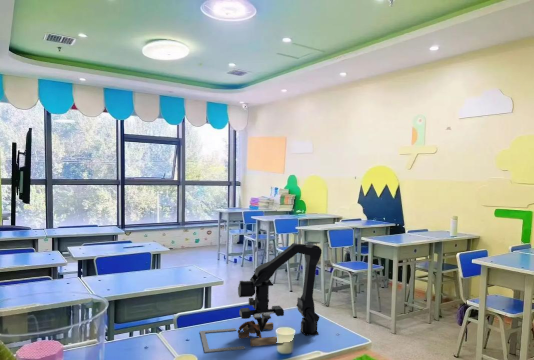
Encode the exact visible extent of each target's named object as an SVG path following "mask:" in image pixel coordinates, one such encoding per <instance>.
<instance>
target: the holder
mask: <svg viewBox="0 0 534 360" xmlns="http://www.w3.org/2000/svg"><path fill="white" fill-rule="evenodd" d="M255 324H256V325H257V326H258V328H259V325H258V323H255ZM248 329H249V328H248V327H247V326H245V327H244V328H243V329H242V332H243V331H246V330H248ZM264 329H268V330H274V323H273V322H267V323H266V325H265V327H264ZM259 330H260V329H259ZM276 336H277V335H275V336H267V337H266V336H265V337H262V338H259V337H254V338H253V337H252V338H249V339H250V340H249V342H250V347H257V346H268V345H277V344H276V342H277V337H276Z"/></svg>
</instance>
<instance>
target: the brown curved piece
mask: <svg viewBox="0 0 534 360" xmlns="http://www.w3.org/2000/svg"><path fill="white" fill-rule="evenodd" d="M256 324H257V323H256V322H255V321H254V320H253V319H252V320H250V321H245V322H243V323H242V324H241V325H239V327H238V330H237V337H238V339H239V340H240V339H246V338H248V339H251V337H250V334H251V335H253V334H256V337H258V338H263V337H262V332H260V330H259V328H258V326H257V325H256ZM245 326H247V327H248V328H249V329H248V330H246V331H244V332H243V328H244V327H245Z"/></svg>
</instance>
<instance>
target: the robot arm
mask: <svg viewBox="0 0 534 360" xmlns="http://www.w3.org/2000/svg"><path fill="white" fill-rule="evenodd" d="M297 254H301V255H304V259H305V271H304V279H303V280H304V281H303V288H302V295H301V297H297V300H296V301H297V302H296V306H295V307H296V308H297V311H298V312H299V313H300V314H301V316H302V317H301V321H300V332H301V333H302V334H304V335H305V336H315V335H316V336H317V335H319V334H320V333H319V332H318V322H319V320H320V316H319V315H318V313H316V311H315V302H314V288H315V281H316V280H315V279H316V272H317V265H318V263H319V261H320V260H321V256H322V254H323V253H322V249H321V247H320V246H319V245H317V244H314V243H312V242H311V243H308V244H303V243H295V242H293V243H291V244H290V245H289V246H288V247H287V248H286V249H284V250H283V251H281V252H280V253H279V254H277V255H276V256H275V257H274V258H272V259H271V260H269V261H267V262H264V263H262V264H260V265H259V266H257V267H256V268H255V269H254V273H253V275H252V276H251V277H250V279H249V280H239V282H238V283H239V284H238V287H237V293H238V295H237V296H238V298H248V305H249V306H252V308H253V309H250V308H249V307H241V308H240V309H239V317H240V318H241V319H243V320H244V319H245V320H246V319H247V320H249V319H251V317H253V319H254V320H255V321H256V322H257V324H258V325H259V329H260V332H261V333H263V331H264V330H263V329H264V327H265V325H266V323H268V321H269V320H271V319H272V316H271V315H272V314H275V315H276V317H284V316H285V310H284V309H283V308H282V306H281V305H272V306H271V308H269V303H270V299H269V295H270V294H269V292H270V291H269V290H270V288H269V287H274V283H272V281H271V280H270V279H271V278H272V276H274V274H275V272H276V271H277V270H278V269H279V268H281V266H283V265H284V264H286V263H287V262H289V260H291V259H292V258H293V257H295V256H296V255H297ZM253 296H255V297H253Z"/></svg>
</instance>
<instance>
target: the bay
mask: <svg viewBox="0 0 534 360" xmlns="http://www.w3.org/2000/svg"><path fill="white" fill-rule="evenodd" d="M227 331H228V332H235V331H236V332H237V329H236V328H221V329H208V330H200V331H199V334H200V339H201V342H202V346H203V351H204V353H205V354H207V353H208V354H209V353H219V352H228V351H240V350H245V349H246V347H245V346H244V345H242V346H241V345H239V346H230V347H221V348H220V347H218V348H217V347H216V348H210V346H209V343H208V339H207V335H206V334H211V333H212V334H217V333H225V332H226V333H227Z"/></svg>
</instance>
